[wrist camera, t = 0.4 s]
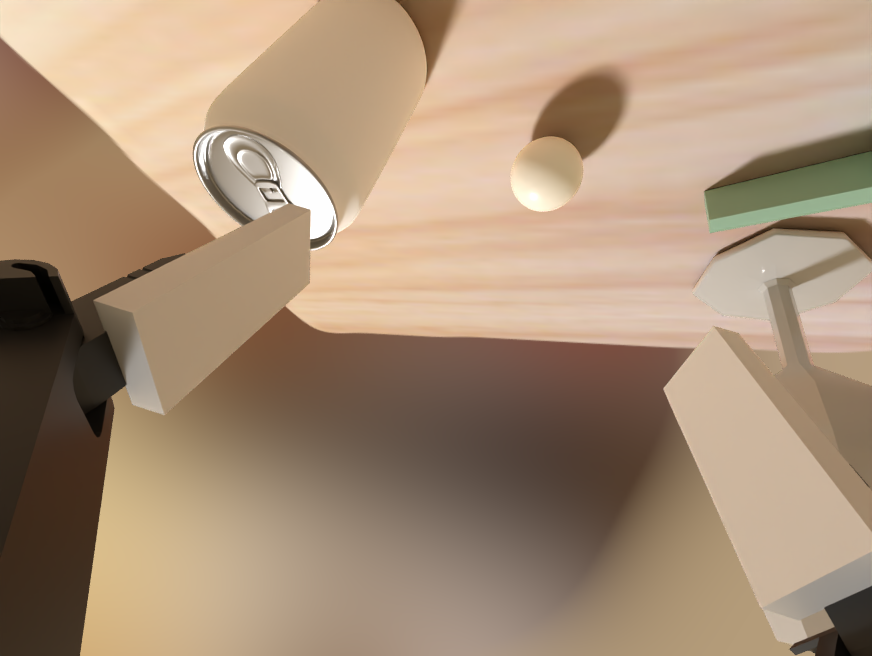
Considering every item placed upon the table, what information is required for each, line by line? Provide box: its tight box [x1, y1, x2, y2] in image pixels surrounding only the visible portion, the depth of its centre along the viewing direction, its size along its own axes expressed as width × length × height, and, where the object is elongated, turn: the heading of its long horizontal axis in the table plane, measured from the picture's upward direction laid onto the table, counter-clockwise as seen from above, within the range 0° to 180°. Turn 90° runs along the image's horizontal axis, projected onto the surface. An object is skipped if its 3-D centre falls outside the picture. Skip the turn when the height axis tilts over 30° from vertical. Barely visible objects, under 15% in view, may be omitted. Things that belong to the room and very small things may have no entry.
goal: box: [704, 151, 872, 233], centre depth 15 cm, size 8×13×2 cm, turn 32°
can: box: [193, 0, 427, 251], centre depth 17 cm, size 6×6×12 cm
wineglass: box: [692, 228, 872, 652], centre depth 20 cm, size 9×9×21 cm
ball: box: [511, 136, 583, 212], centre depth 21 cm, size 4×4×4 cm
